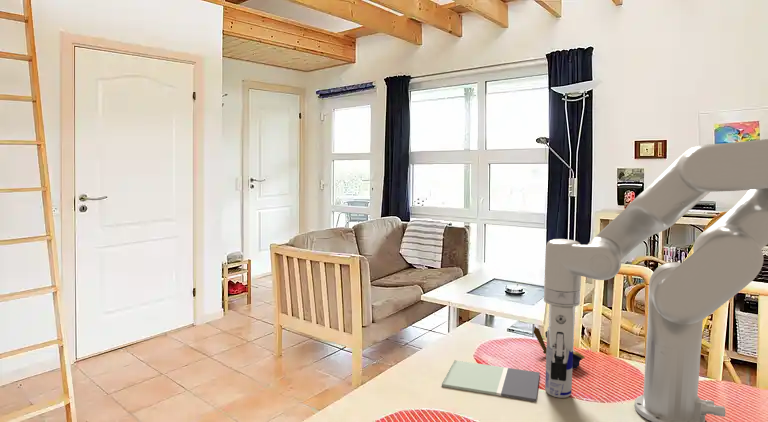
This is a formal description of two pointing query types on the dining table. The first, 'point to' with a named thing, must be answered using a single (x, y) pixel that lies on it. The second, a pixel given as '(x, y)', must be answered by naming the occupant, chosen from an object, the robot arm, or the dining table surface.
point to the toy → (576, 355)
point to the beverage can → (557, 386)
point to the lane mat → (493, 380)
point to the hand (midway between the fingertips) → (558, 373)
